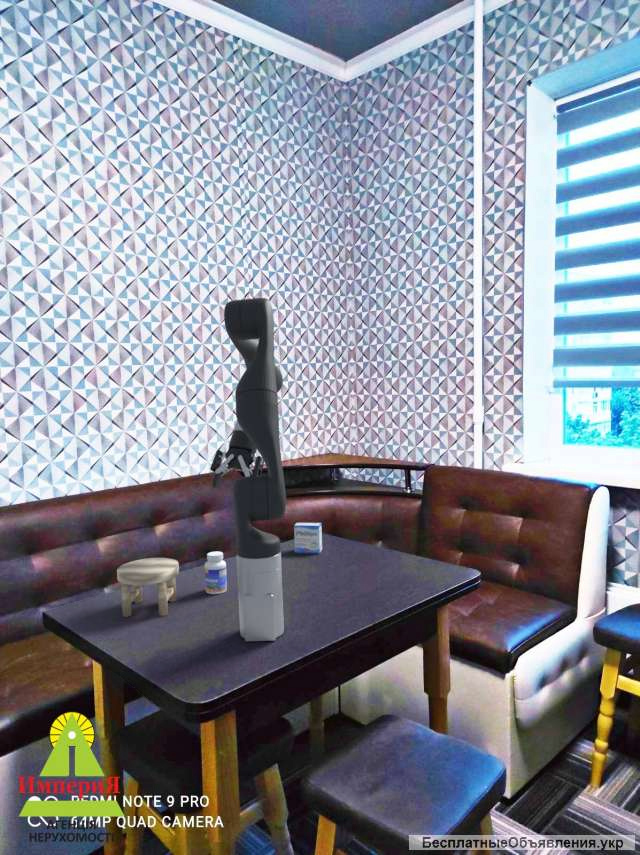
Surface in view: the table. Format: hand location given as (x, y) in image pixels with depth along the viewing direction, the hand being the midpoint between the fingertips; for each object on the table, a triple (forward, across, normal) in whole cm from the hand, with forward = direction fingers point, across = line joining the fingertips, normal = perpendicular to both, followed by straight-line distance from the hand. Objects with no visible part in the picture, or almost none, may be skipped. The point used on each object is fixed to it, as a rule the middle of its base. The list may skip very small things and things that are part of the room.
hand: (229, 491), depth 158 cm
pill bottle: (+25, +2, +5) cm, 26 cm away
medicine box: (+6, +10, +38) cm, 40 cm away
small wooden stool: (+33, -6, -8) cm, 34 cm away
